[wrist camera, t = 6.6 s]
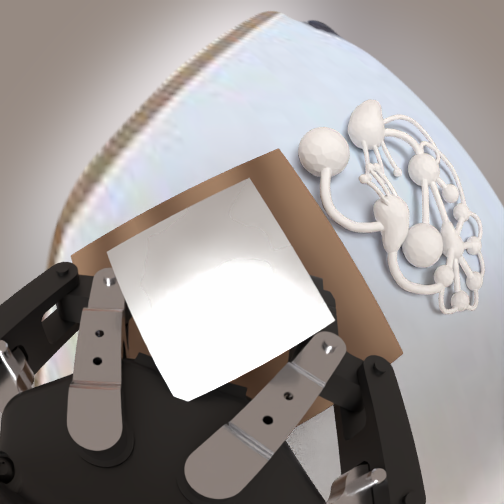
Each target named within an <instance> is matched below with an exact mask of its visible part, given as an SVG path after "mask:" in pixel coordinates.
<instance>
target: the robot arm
mask: <svg viewBox="0 0 504 504" xmlns="http://www.w3.org/2000/svg"><path fill="white" fill-rule="evenodd" d="M309 276H310V278H311V279H312V281H313V283H314V284H315V286H316V288H317V290H318V291H319V293H320V295H321V296H322V298H323V300H324V302H325V303H326V305H327V307H328V309H329V310H330V312H331V314H332V316H333V317H334V319H335V321H334V322H332V323H331V324H329V325H327V326H326V327H324V328H323V329H321V330H320V331H318V332H316V333H315V334H313V335H311V336H310V337H308V338H307V339H305V340H303V341H302V342H300V343H298V344H297V345H295V346H293V347H292V348H290V349H289V358H288V363H287V364H286V365H285V366H284V367H283V368H282V369H281V370H280V371H279V372H278V373H277V375H276V376H275V377H274V378H273V379H272V380H271V381H270V382H269V383H268V384H267V385H266V386H265V387H264V388H263V389H262V390H261V391H260V392H259V393H258V394H257V395H256V396H255V398H254V399H252V398H250V397H248V396H246V392H247V387H243V386H240V385H236V384H232V383H229V382H227V383H225V384H223V385H221V386H219V387H217V388H215V389H213V390H211V391H209V392H207V393H205V394H203V395H200V396H198V397H196V398H194V399H192V400H190V401H186V400H183V399H180V398H178V397H175V396H174V395H173V394H172V392H171V390H170V389H169V387H168V385H167V383H166V381H165V380H164V378H163V376H162V374H161V372H160V371H159V369H158V367H157V365H156V363H155V361H154V359H153V357H151V356H148V355H146V354H143V353H141V352H139V353H138V355H137V357H136V358H135V359H133V358H130V353H129V320H130V319H131V317H132V314H131V312H130V309H129V307H128V305H127V302H126V300H125V298H124V295H123V293H122V291H121V288H120V286H119V283H118V281H117V278H116V276H115V273H114V271H113V268H104V269H101V270H99V271H98V272H97V273H96V274H95V275H94V276H88V275H80V274H78V268H77V266H76V265H75V264H73V263H70V262H61V263H57V264H55V265H54V266H52V267H51V268H49V269H48V270H46V271H45V272H44V273H42V274H41V275H39V276H38V277H37V278H35V279H34V280H33V281H31V282H30V283H28V284H27V285H26V286H24V287H23V288H22V289H21V290H19V291H18V292H17V293H15V294H14V295H13V296H12V297H10V298H9V299H8V300H6V301H5V302H4V303H3V304H1V305H0V411H1V413H2V418H1V431H0V504H425V503H426V496H425V490H424V485H423V480H422V475H421V470H420V465H419V461H418V456H417V452H416V448H415V443H414V439H413V435H412V432H411V428H410V424H409V420H408V417H407V413H406V409H405V406H404V403H403V399H402V396H401V392H400V389H399V386H398V383H397V380H396V376H395V373H394V370H393V368H392V366H391V364H390V363H389V362H388V361H387V360H386V359H384V358H383V357H381V356H377V355H370V356H368V357H366V358H365V360H362V359H359V358H357V357H355V356H353V355H351V354H350V353H348V352H347V351H346V345H345V343H344V341H343V340H342V339H341V338H340V337H339V335H338V323H337V315H336V314H337V312H336V302H335V298H334V297H333V295H332V293H331V292H330V291H327V290H323V279H322V278H320V277H316V276H313V275H309ZM55 304H56V306H57V309H56V310H55V311H54V312H53V313H52V314H50V315H49V316H48V317H47V318H46V319H45V320H44V321H42V317H43V315H44V314H45V313H46V312H47V311H48V310H49V309H50V308H51V307H53V306H54V305H55ZM78 330H79V333H78V340H77V347H76V355H75V363H74V372H73V374H71V375H68V376H66V377H63V378H60V379H57V380H54V381H52V382H49V383H46V384H43V385H40V386H37V387H35V388H32V384H33V382H34V375H35V374H36V373H37V371H38V370H39V369H40V368H41V367H42V366H43V365H44V364H45V363H46V362H47V361H48V360H49V359H50V358H51V357H52V356H53V355H54V354H55V353H56V352H57V351H58V350H59V349H60V348H61V347H62V346H63V345H64V344H65V343H66V342H67V341H68V340H69V339H70V338H71V337H72V336H73V335H74V334H75V333H76V332H77V331H78ZM318 396H320V397H322V398H324V399H326V400H328V401H330V402H332V403H333V406H334V413H335V421H336V429H337V437H338V446H339V455H340V465H341V476H339V477H338V478H337V479H336V480H335V481H334V482H333V484H332V486H331V493H330V497H329V499H328V500H327V502H325V500H324V499H323V497H322V496H321V494H320V493H319V491H318V490H317V489H316V487H315V486H314V484H313V483H312V481H311V480H310V478H309V477H308V475H307V474H306V472H305V470H304V469H303V467H302V466H301V464H300V463H299V461H298V460H297V458H296V456H295V455H294V453H293V452H292V450H291V449H290V447H289V445H288V444H287V442H286V441H285V440H286V438H287V437H288V436H289V435H290V433H291V432H292V431H293V429H294V428H295V427H296V425H297V424H298V423H299V422H300V420H301V419H302V418H303V416H304V415H305V413H306V412H307V411H308V409H309V408H310V407H311V405H312V404H313V402H314V401H315V400H316V398H317V397H318Z"/></svg>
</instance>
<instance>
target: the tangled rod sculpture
mask: <svg viewBox="0 0 504 504" xmlns="http://www.w3.org/2000/svg"><path fill="white" fill-rule="evenodd" d="M397 119H402V120H406V121H408V122H410V123H412V124H413V125H414V126H415V127H417V128H418V129H419V130H420V131H421V133H422V134H423V135H424V136H425V137H426V139H427V140H428V141H429V142H427V141H422V142H420V144H418V143H417V141H416V140H415V139H414V138H412V137H411V136H410V135H408V134H407V133H404V132H402V131H399V130H396V129H388V128H386V129H385V126H384V124H386V123H389V122H391V121H394V120H397ZM348 134H349V137H350V139H351V140H352V142H353V143H354V144H355V145H356V146H357V147H358V148H361V149H363V151H364V157H365V162H366V166H365V174H362V175H361V176H360V177H359V180H360V182H361V183H362V184H368V185H369V186H370V187H372V188H373V189H374V190H375V191H376V193H377V194H378V195H379V197H380V199H379V200H377V201H376V202H375V204H374V206H373V211H374V216H375V219H376V222H370V223H358V222H355V221H352V220H350V219H348V218H347V217H345V216H343V215H342V214H341V213H340V212H339V211H338V210H336V208H335V206H334V204H333V202H332V198H331V192H330V181H331V177H332V176H335V175H337V174H339V173H341V172H342V171H343V170H344V169H345V167H346V166H347V164H348V161H349V157H350V151H349V145H348V143H347V141H346V140H345V138H344V137H343V136H342V135H341V134H340V133H339V132H338V131H336V130H334V129H331V128H327V127H319V128H315V129H312V130H310V131H309V132H307V133H306V134H305V135H304V136H303V138H302V139H301V141H300V144H299V149H298V154H299V159H300V162H301V164H302V165H303V167H304V168H305V169H306V170H307V171H308V172H310V173H311V174H313V175H314V176H318V177H321V178H320V197H321V200H322V204H323V207H324V209H325V211H326V213H327V214H328V216H329V217H330V218H331V219H333V220H334V221H335V222H336V223H337V224H339V225H341V226H342V227H344V228H346V229H347V230H350V231H354V232H357V233H371V232H378V231H380V232H381V235H382V242H383V246H384V249H385V250H386V252H387V253H388V266H389V269H390V272H391V275H392V276H393V278H394V279H395V281H396V283H397V284H398V285H399V286H400V287H401V288H403V289H404V290H406V291H409V292H412V293H416V294H421V295H431V294H436V293H438V292H439V298H438V299H439V308H440V310H441V312H442V313H443V314H445V315H446V314H453V313H455V312H456V311H457V312H461V311H464V310H465V309H467V310H470V311H473V310H475V309H476V308H477V305H478V290H479V289H480V288H481V286H482V284H483V276H484V272H485V265H484V260H483V257H482V253H481V251H480V250H481V247H482V245H481V238H482V224H481V221H480V219H479V217H478V216H477V215H476V214H475V213H473V212H471V211H470V210H469V208H468V207H467V205H466V201H465V197H464V193H463V189H462V186H461V183H460V180H459V178H458V175H457V173H456V171H455V169H454V168H453V166H452V164H451V163H450V162H449V160H448V159H447V158H446V157H445V156H444V155H443V154H442V153H441V152H440V151H439V150H438V148H437V146H436V145H435V143H434V142H433V140H432V138H431V137H430V136H429V135H428V133H427V132H426V131H425V130H424V129H423V128H422V126H421V125H420V124H419V123H417V122H416V121H415V120H414V119H412V118H410V117H408V116H405V115H393V116H390V117H388V118H385V119H383V117H382V109H381V105H380V104H379V102H378V101H376V100H367V101H364V102H363V103H362V104H360V105H359V106H358V107H356V109H355V110H354V111H353V112H352V114H351V117H350V120H349V124H348ZM384 137H396V138H399V139H402V140H404V141H405V142H407V143H408V144H409V145H410V146H411V147H412V148H413V150H414V151H415V153H416V155H414V156H413V157H412V158H411V160H410V162H409V164H408V172H409V176H410V178H411V179H412V181H414V182H415V183H416V184H417V185H419V186H422V223H419V224H416V225H414V226H412V227H411V228H409V209H408V206H407V204H406V203H405V202H404V200H402V199H401V198H400V197H398V195H397V193H396V191H395V189H394V187H393V186H392V184H391V183H390V181H389V180H388V179H387V177H386V176H385V175H384V167H383V163H382V159H381V156H380V153H379V150H378V147H380V146H382V149H383V151H384V153H385V155H386V157H387V158H388V160H389V162H390V164H391V165H392V167H393V168H394V171H393V173H394V175H395V176H396V177H400V176H401V175H402V170H401V169H400V168H398V167H397V165H396V164H395V162H394V161H393V159H392V157H391V155H390V153H389V151H388V149H387V147H386V145H385V143H384ZM423 146H427V147H428V148H430V149H431V150H433V151H434V152H435V155H436V160H435V159H434V157H433V156H431V155H429V154H426V153H424V150H423ZM373 149H374V152H375V155H376V157H377V161H378V163H374V164H372V163H370V160H369V153H368V150H373ZM440 158H441V159H442V160H443V161H444V162H445V164H446V165H447V166H448V167H449V169H450V170H451V172H452V174H453V176H454V179H455V181H456V184H457V187H458V189H457V187H456V186H455V185H452V184H447V185H446V184H445V183H444V181H443V180H442V179H441V178H440V177H439V174H440V169H439V165H438V164H439V162H440ZM376 172H377V173H378V174H379V175H380V177H379V175H378V174H377V173H376ZM370 173H371V174H372V175H373V177H374V178H375V179H376V180H377V181H378V183H379V184H380V185H381V186H382V188H383V190H384V192H385V193H386V195H385V196H384V195H383V193H382V192H381V191H380V190H379V189H378V187H377V186H376V185H375V184H374V183H373V182H371V180H372V177H371V175H370ZM435 182H436V183H437V184H438V185H439V186H440V187H441V188H442V197H443V199H444V200H445V201H446V202H448V203H454V202H456V201H457V200H458V197H459V194H460V198H461V203H459V204H457V205H456V206H455V207H454V209H453V215H454V218H455V219H456V220H457V221H458V222H457V225H456V228H455V229H454V227H453V224H452V223H451V222H450V221H449V219H448V216H447V213H446V210H445V207H444V204H443V201H442V199H441V196H440V193H439V191H438V188H437V186H436V183H435ZM385 184H387V185H388V187H389V189H390V190H391V192H392V194H390V192H389V190H388V188H387V187H386V185H385ZM428 186H430V187H431V190H432V193H433V195H434V198H435V201H436V204H437V207H438V209H439V212H440V215H441V218H442V221H443V223H442V226H441V231H440V233H439V231H438V230H437V229H436V228H435V227H433V226H432V225H430V224H429V193H428ZM469 216H471V217H473V218H474V219H476V221H477V224H478V227H479V234H478V237H475V236H472V237H469V238H468V239H467V241H466V242H463V241H462V239H461V237H460V236H459V235H460V232H461V229H462V226H463V223H464V222H465V221H467V220H468V219H469ZM401 245H402V249H403V253H404V255H405V257H406V259H407V260H408V261H409V263H411V264H412V265H414V266H416V267H419V268H427V267H430V266H432V265H434V264H435V263H436V262H437V261H438V260H439V258H440V256H441V255H442V252H443V254H444V255H445V256H446V257H447V261H446V265H441V266H439V267H438V268H437V269H436V270H435V273H434V281H435V283H436V284H432V285H422V284H416V283H413V282H410V281H408V280H407V279H406V278H405V277H404V276H403V274H402V273H401V271H400V269H399V266H398V263H397V251H398V250H399V248H400V247H401ZM464 249H466V250H467V252H468V253H469V254H471V255H477V254H478V257H479V261H480V265H481V272H480V273H479V272H476V271H475V272H472V270H471V269H470V267H469V265H468V264H467V262H466V260H465V259H464V257H463V256H462V254H463V252H464ZM458 263H459V264H460V266H461V267H462V269H463V271H464V272H465V274H466V276H467V278H466V285H467V287H468V288H469V289H470V290H472V291H474V304H473V306H471V305H469V296H468V294H467V293H466V292H464V291H462V290H461V287H460V275H459V265H458ZM452 269H453V270H452ZM453 280H454V291H455V293H454V294H453V295H452V298H451V306H452V309H445V306H444V301H443V296H444V290H445V287H448V286H450V285H451V284H452V282H453Z"/></svg>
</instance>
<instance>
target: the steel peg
mask: <svg viewBox="0 0 504 504" xmlns="http://www.w3.org/2000/svg"><path fill="white" fill-rule="evenodd" d="M107 255H108V257H109V260H110V263H111V265H112V268H113V271H114V273H115V276H116V278H117V281H118V283H119V286H120V288H121V291H122V293H123V295H124V298H125V300H126V302H127V305H128V307H129V309H130V312H131V314H132V316H133V318H134V320H135V323H136V325H137V327H138V329H139V331H140V333H141V335H142V337H143V339H144V341H145V343H146V345H147V347H148V349H149V351H150V353H151V355H152V357H153V359H154V361H155V363H156V365H157V367H158V369H159V371H160V372H161V374H162V376H163V378H164V380H165V381H166V383H167V385H168V387H169V389H170V390H171V392H172V394H173V395H174V396H175V397H178V398H180V399H183V400H186V401H190V400H192V399H194V398H196V397H198V396H200V395H203V394H205V393H207V392H209V391H211V390H213V389H215V388H217V387H219V386H221V385H223V384H225V383H227V382H229V381H231V380H233V379H235V378H237V377H239V376H241V375H243V374H245V373H247V372H249V371H250V370H252V369H254V368H256V367H258V366H260V365H262V364H263V363H265V362H267V361H269V360H271V359H272V358H274V357H276V356H278V355H279V354H281V353H283V352H285V351H286V350H288V349H290V348H292V347H293V346H295V345H297V344H298V343H300V342H302V341H303V340H305V339H307V338H308V337H310V336H311V335H313V334H315V333H316V332H318V331H320V330H321V329H323V328H324V327H326V326H327V325H329V324H331V323H332V322H334V321H335V319H334V317H333V316H332V314H331V312H330V310H329V309H328V307H327V305H326V303H325V302H324V300H323V298H322V296H321V295H320V293H319V291H318V290H317V288H316V286H315V284H314V283H313V281H312V279H311V278H310V276H309V274H308V272H307V271H306V269H305V267H304V266H303V264H302V262H301V261H300V259H299V257H298V256H297V254H296V252H295V251H294V249H293V247H292V246H291V244H290V242H289V241H288V239H287V237H286V236H285V234H284V232H283V231H282V229H281V227H280V226H279V224H278V223H277V221H276V219H275V218H274V216H273V215H272V213H271V211H270V210H269V208H268V206H267V205H266V203H265V202H264V200H263V198H262V197H261V195H260V194H259V192H258V191H257V189H256V187H255V186H254V184H253V183H252V181H251V180H250V178H248V179H246V180H244V181H241V182H239V183H237V184H235V185H233V186H231V187H229V188H227V189H224V190H222V191H220V192H218V193H216V194H214V195H212V196H210V197H208V198H206V199H204V200H202V201H200V202H198V203H196V204H194V205H192V206H190V207H188V208H186V209H184V210H182V211H180V212H178V213H176V214H174V215H172V216H171V217H169V218H167V219H165V220H163V221H161V222H159V223H157V224H155V225H154V226H152V227H150V228H148V229H146V230H144V231H143V232H141V233H139V234H137V235H135V236H134V237H132V238H130V239H128V240H126V241H125V242H123V243H121V244H119V245H118V246H116V247H114V248H112V249H111V250H109V251H107Z"/></svg>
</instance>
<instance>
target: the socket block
mask: <svg viewBox="0 0 504 504" xmlns="http://www.w3.org/2000/svg"><path fill="white" fill-rule="evenodd" d="M248 178H250V180H251V181H252V183H253V184H254V186H255V187H256V189H257V191H258V192H259V194H260V195H261V197H262V198H263V200H264V202H265V203H266V205H267V206H268V208H269V210H270V211H271V213H272V215H273V216H274V218H275V219H276V221H277V223H278V224H279V226H280V227H281V229H282V231H283V232H284V234H285V236H286V237H287V239H288V241H289V242H290V244H291V246H292V247H293V249H294V251H295V252H296V254H297V256H298V257H299V259H300V261H301V262H302V264H303V266H304V267H305V269H306V271H307V272H308V274H309V275H313V276H316V277H320V278H322V279H323V290H327V291H330V292H331V293H332V295H333V297H334V298H335V302H336V312H337V314H336V315H337V323H338V335H339V337H340V338H341V339H342V340H343V341H344V343H345V345H346V351H347V352H348V353H350V354H351V355H353V356H355V357H357V358H359V359H362V360H365V358H366V357H368V356H370V355H377V356H381V357H383V358H384V359H386V360H387V361H388V362H389V363H390V364H391V363H392V362H393V361H395V360H396V359H397V358H398V357H400V356H401V355H402V354H403V351H402V349H401V347H400V345H399V343H398V341H397V339H396V337H395V335H394V333H393V331H392V330H391V328H390V326H389V324H388V322H387V320H386V318H385V316H384V314H383V312H382V311H381V309H380V307H379V305H378V303H377V301H376V300H375V298H374V296H373V294H372V292H371V291H370V289H369V287H368V285H367V284H366V282H365V280H364V278H363V277H362V275H361V273H360V271H359V270H358V268H357V266H356V265H355V263H354V261H353V260H352V258H351V256H350V255H349V253H348V251H347V250H346V248H345V246H344V245H343V243H342V241H341V240H340V238H339V237H338V235H337V233H336V232H335V230H334V229H333V227H332V225H331V224H330V222H329V221H328V219H327V218H326V216H325V215H324V213H323V212H322V210H321V208H320V207H319V205H318V204H317V202H316V201H315V199H314V198H313V196H312V195H311V193H310V192H309V190H308V189H307V188H306V186H305V185H304V183H303V182H302V180H301V179H300V177H299V176H298V175H297V173H296V172H295V170H294V169H293V167H292V166H291V165H290V163H289V162H288V160H287V159H286V158H285V156H284V155H283V153H282V152H281V151H280V149H276V150H274V151H271V152H269V153H267V154H264V155H262V156H260V157H257V158H255V159H253V160H250V161H248V162H246V163H243V164H241V165H239V166H237V167H234V168H232V169H230V170H228V171H226V172H224V173H221V174H219V175H217V176H215V177H213V178H211V179H209V180H207V181H204V182H202V183H200V184H198V185H196V186H194V187H192V188H190V189H188V190H186V191H184V192H182V193H180V194H178V195H176V196H174V197H172V198H170V199H168V200H166V201H165V202H163V203H161V204H159V205H157V206H155V207H153V208H151V209H149V210H148V211H146V212H144V213H142V214H140V215H138V216H137V217H135V218H133V219H131V220H129V221H128V222H126V223H124V224H122V225H121V226H119V227H117V228H115V229H114V230H112V231H110V232H109V233H107V234H105V235H104V236H102V237H100V238H98V239H97V240H95V241H94V242H92V243H90V244H89V245H87V246H85V247H84V248H82V249H81V250H79V251H77V252H76V253H74V254H73V255H71V259H72V262H73V264H75V265H76V266H77V268H78V274H80V275H88V276H94V275H95V274H96V273H97V272H98V271H99V270H101V269H104V268H112V265H111V263H110V260H109V257H108V255H107V251H109V250H111V249H112V248H114V247H116V246H118V245H119V244H121V243H123V242H125V241H126V240H128V239H130V238H132V237H134V236H135V235H137V234H139V233H141V232H143V231H144V230H146V229H148V228H150V227H152V226H154V225H155V224H157V223H159V222H161V221H163V220H165V219H167V218H169V217H171V216H172V215H174V214H176V213H178V212H180V211H182V210H184V209H186V208H188V207H190V206H192V205H194V204H196V203H198V202H200V201H202V200H204V199H206V198H208V197H210V196H212V195H214V194H216V193H218V192H220V191H222V190H224V189H227V188H229V187H231V186H233V185H235V184H237V183H239V182H241V181H244V180H246V179H248ZM139 352H141V353H143V354H146V355H148V356H151V357H152V355H151V353H150V351H149V349H148V347H147V345H146V343H145V341H144V339H143V337H142V335H141V333H140V331H139V329H138V327H137V325H136V323H135V320H134V318H133V316H132V317H131V319H130V320H129V353H130V358H133V359H135V358H136V357H137V355H138V353H139ZM288 358H289V349H288V350H286V351H285V352H283V353H281V354H279V355H278V356H276V357H274V358H272V359H271V360H269V361H267V362H265V363H263V364H262V365H260V366H258V367H256V368H254V369H252V370H250V371H249V372H247V373H245V374H243V375H241V376H239V377H237V378H235V379H233V380H231V381H229V383H232V384H236V385H240V386H243V387H247V392H246V396H248V397H250V398H252V399H254V398H255V396H256V395H257V394H258V393H259V392H260V391H261V390H262V389H263V388H264V387H265V386H266V385H267V384H268V383H269V382H270V381H271V380H272V379H273V378H274V377H275V376H276V375H277V373H278V372H279V371H280V370H281V369H282V368H283V367H284V366H285V365H286V364H287V363H288ZM332 405H333V403H332V402H330V401H328V400H326V399H324V398H322V397H320V396H318V397H317V398H316V400H315V401H314V402H313V404H312V405H311V407H310V408H309V409H308V411H307V412H306V413H305V415H304V416H303V418H302V419H301V420H300V422H299V423H298V424H297V425H296V427H297V426H298V425H300V424H302V423H304V422H305V421H307V420H309V419H311V418H312V417H314V416H316V415H317V414H319V413H321V412H322V411H324V410H326V409H327V408H329V407H330V406H332Z"/></svg>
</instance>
